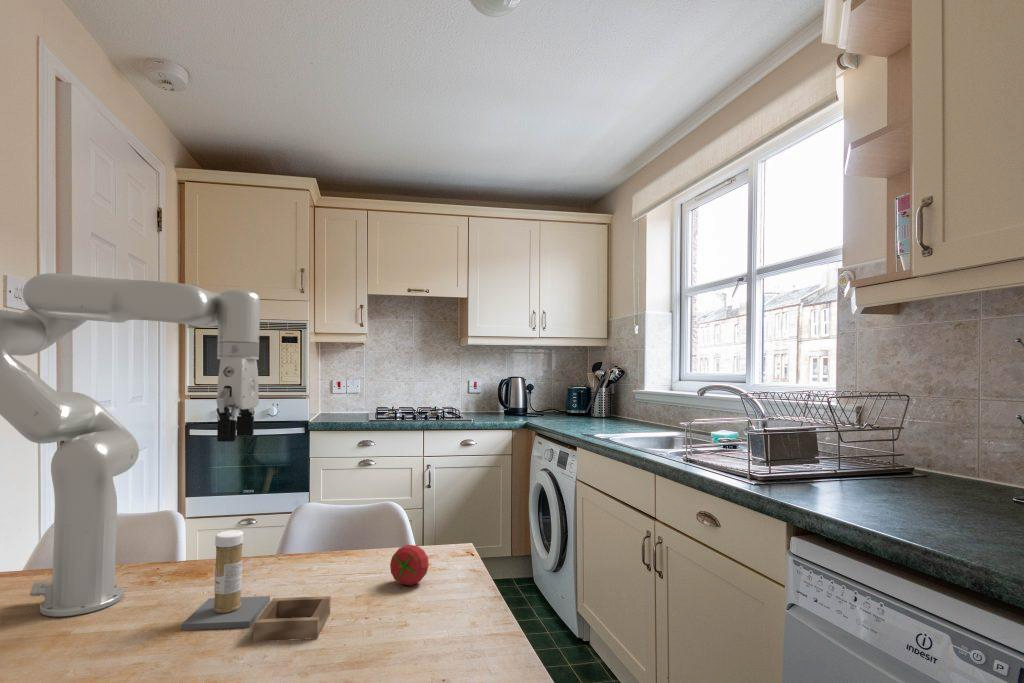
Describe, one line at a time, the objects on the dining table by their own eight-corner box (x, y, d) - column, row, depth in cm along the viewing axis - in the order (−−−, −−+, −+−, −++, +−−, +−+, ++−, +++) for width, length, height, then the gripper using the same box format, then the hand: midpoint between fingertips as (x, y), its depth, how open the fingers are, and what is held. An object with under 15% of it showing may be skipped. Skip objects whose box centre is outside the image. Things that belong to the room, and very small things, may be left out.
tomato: (416, 535, 123) (400, 537, 116) (441, 561, 120) (426, 566, 113) (392, 563, 123) (375, 568, 116) (416, 591, 120) (399, 597, 113)
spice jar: (210, 608, 103) (212, 532, 104) (238, 601, 106) (240, 527, 107) (216, 616, 99) (218, 538, 100) (244, 609, 102) (246, 533, 103)
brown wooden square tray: (253, 641, 92) (254, 622, 93) (272, 615, 102) (273, 598, 102) (317, 638, 93) (317, 619, 94) (330, 613, 103) (330, 596, 104)
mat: (181, 630, 96) (181, 624, 97) (208, 603, 107) (209, 598, 107) (249, 627, 98) (249, 621, 98) (269, 601, 109) (269, 596, 109)
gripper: (242, 350, 106) (239, 443, 105) (271, 353, 124) (269, 433, 123) (199, 350, 106) (197, 444, 105) (235, 353, 123) (232, 433, 122)
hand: (236, 438), depth 114 cm, fingers open, 9 cm apart
